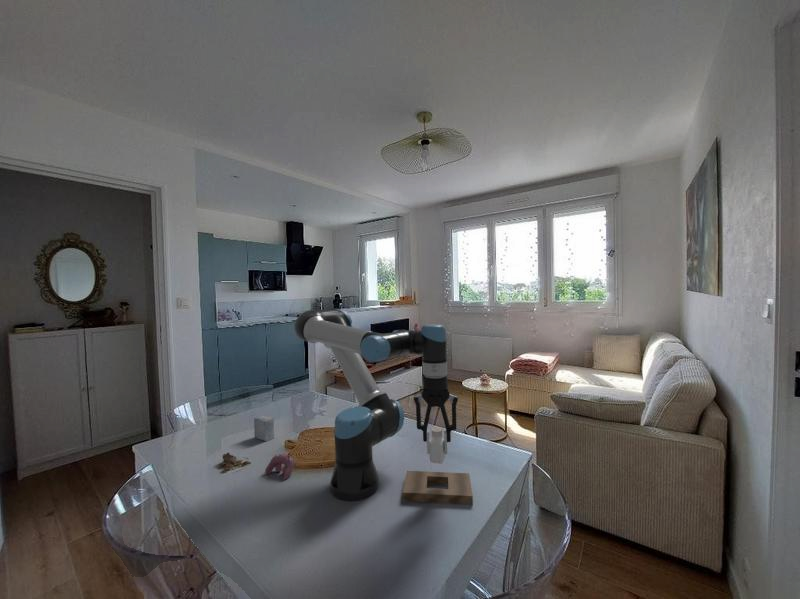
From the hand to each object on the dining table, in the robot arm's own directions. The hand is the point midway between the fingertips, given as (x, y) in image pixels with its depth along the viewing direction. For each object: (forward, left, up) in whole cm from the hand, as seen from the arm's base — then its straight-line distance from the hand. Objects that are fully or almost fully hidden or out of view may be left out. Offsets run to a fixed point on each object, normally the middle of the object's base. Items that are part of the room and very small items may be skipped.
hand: (437, 451), depth 99 cm
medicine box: (-75, +32, -12) cm, 83 cm away
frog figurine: (-74, +9, -13) cm, 76 cm away
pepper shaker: (0, 0, -3) cm, 3 cm away
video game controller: (-54, +5, -12) cm, 55 cm away
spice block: (0, 0, -12) cm, 12 cm away
